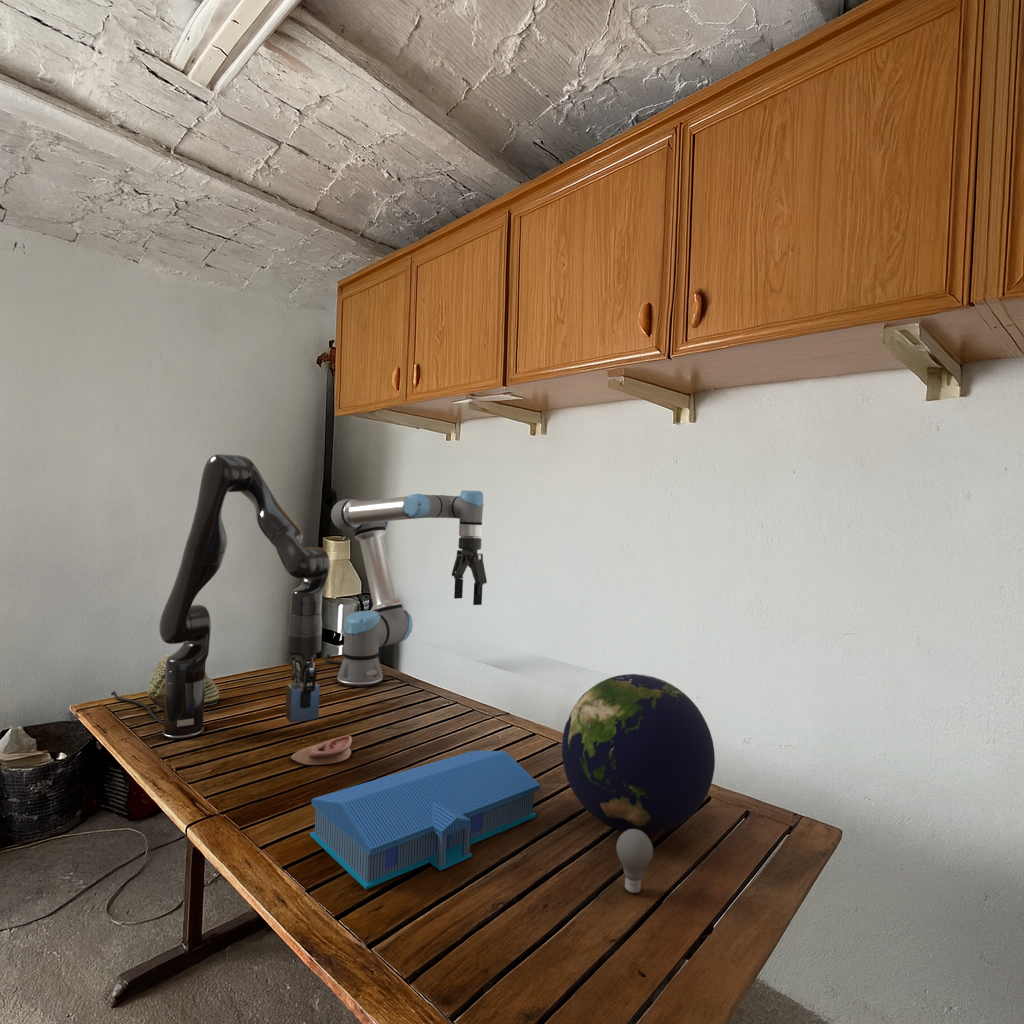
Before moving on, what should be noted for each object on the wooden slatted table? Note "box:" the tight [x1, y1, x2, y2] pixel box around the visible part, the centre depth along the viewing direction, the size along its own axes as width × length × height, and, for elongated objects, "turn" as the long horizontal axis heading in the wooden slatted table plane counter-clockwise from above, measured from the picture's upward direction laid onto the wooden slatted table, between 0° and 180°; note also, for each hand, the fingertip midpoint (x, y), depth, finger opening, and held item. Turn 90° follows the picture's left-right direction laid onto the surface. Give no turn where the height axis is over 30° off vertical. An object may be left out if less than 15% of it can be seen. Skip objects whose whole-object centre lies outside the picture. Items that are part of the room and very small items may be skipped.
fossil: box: [147, 654, 221, 712], centre depth 185 cm, size 9×18×15 cm, turn 132°
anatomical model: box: [290, 735, 353, 766], centre depth 154 cm, size 13×4×12 cm
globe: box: [561, 673, 716, 836], centre depth 127 cm, size 30×30×30 cm
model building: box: [309, 750, 541, 890], centre depth 123 cm, size 39×24×10 cm, turn 132°
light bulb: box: [615, 829, 654, 894], centre depth 106 cm, size 6×6×10 cm
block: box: [285, 682, 321, 724], centre depth 149 cm, size 5×6×8 cm
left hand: (302, 704), depth 149 cm, fingers closed on block, 4 cm apart
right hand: (467, 601), depth 209 cm, fingers open, 13 cm apart
